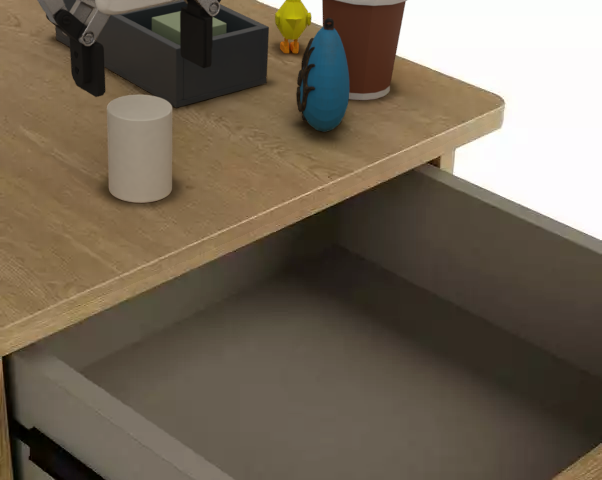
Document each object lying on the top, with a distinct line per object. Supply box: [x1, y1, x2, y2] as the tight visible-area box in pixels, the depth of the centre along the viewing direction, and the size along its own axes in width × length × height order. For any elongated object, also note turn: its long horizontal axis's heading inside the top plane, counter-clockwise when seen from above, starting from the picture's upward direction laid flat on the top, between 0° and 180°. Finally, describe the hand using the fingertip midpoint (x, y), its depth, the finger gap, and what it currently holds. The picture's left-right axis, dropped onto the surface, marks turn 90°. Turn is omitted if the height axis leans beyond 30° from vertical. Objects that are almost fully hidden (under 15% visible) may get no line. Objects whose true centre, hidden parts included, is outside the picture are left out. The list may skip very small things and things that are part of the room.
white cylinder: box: [106, 94, 173, 204], centre depth 101 cm, size 5×5×7 cm
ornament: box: [295, 18, 350, 133], centre depth 113 cm, size 8×5×10 cm, turn 2°
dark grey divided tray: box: [54, 0, 270, 108], centre depth 125 cm, size 11×20×6 cm, turn 41°
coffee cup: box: [321, 0, 408, 101], centre depth 120 cm, size 9×9×12 cm
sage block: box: [152, 11, 227, 45], centre depth 122 cm, size 5×5×5 cm
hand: (144, 76), depth 98 cm, fingers open, 9 cm apart
